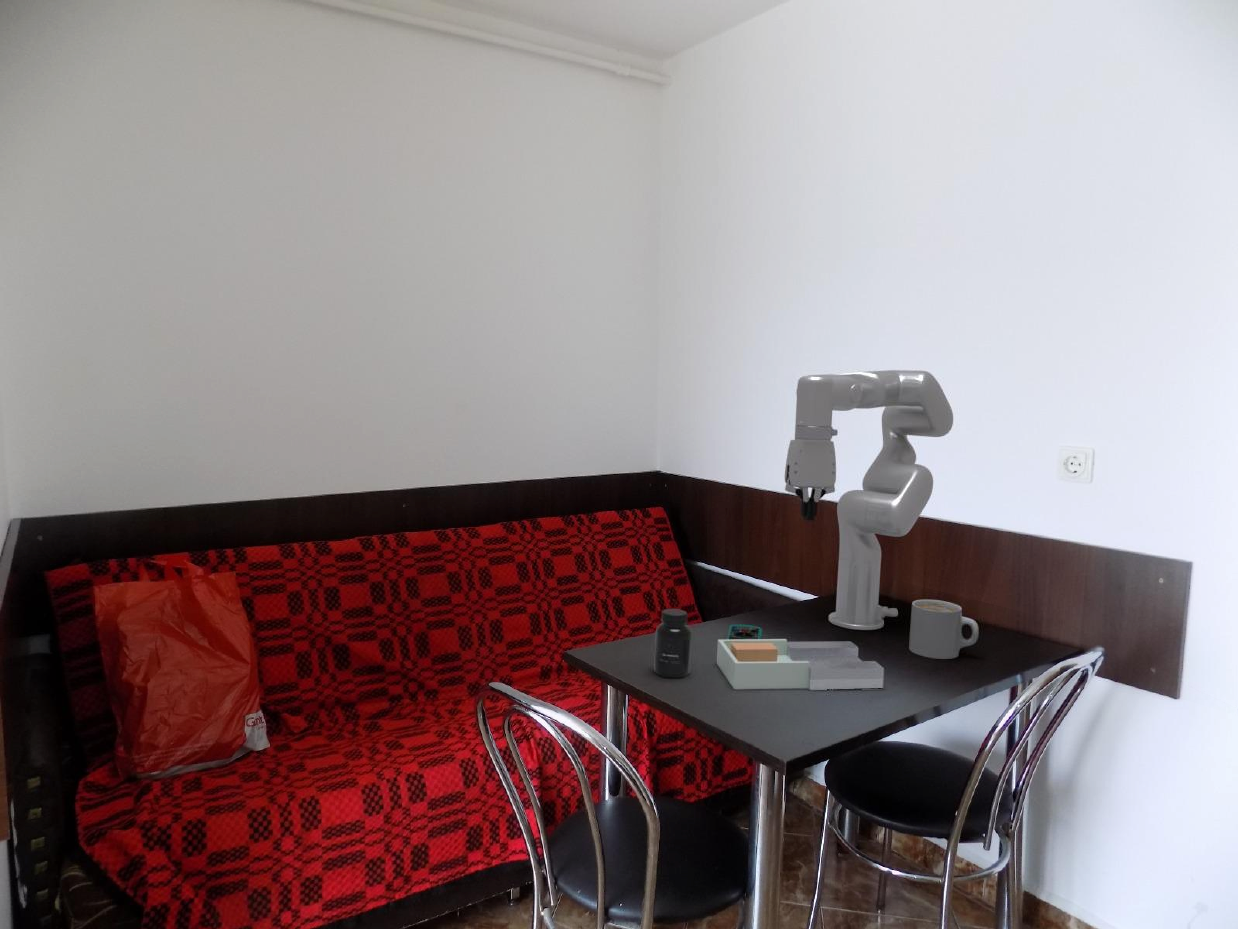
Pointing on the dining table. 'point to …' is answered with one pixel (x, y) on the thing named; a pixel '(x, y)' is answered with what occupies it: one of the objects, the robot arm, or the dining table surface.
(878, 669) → the slotted block
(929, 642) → the coffee mug
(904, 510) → the robot arm
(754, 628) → the digital multimeter
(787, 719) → the dining table surface
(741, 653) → the chip
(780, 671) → the tray
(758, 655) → the chip
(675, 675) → the supplement bottle
